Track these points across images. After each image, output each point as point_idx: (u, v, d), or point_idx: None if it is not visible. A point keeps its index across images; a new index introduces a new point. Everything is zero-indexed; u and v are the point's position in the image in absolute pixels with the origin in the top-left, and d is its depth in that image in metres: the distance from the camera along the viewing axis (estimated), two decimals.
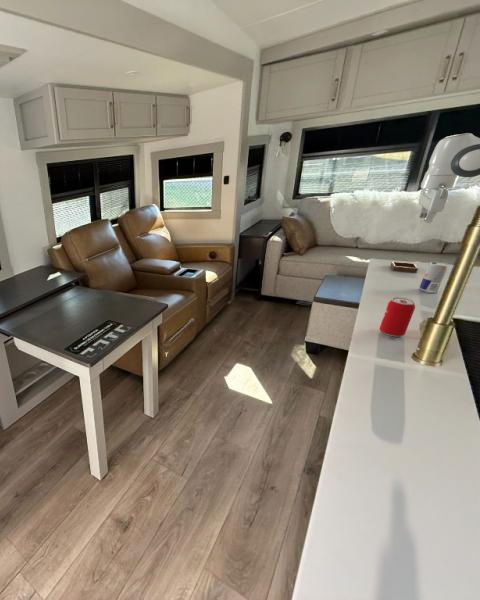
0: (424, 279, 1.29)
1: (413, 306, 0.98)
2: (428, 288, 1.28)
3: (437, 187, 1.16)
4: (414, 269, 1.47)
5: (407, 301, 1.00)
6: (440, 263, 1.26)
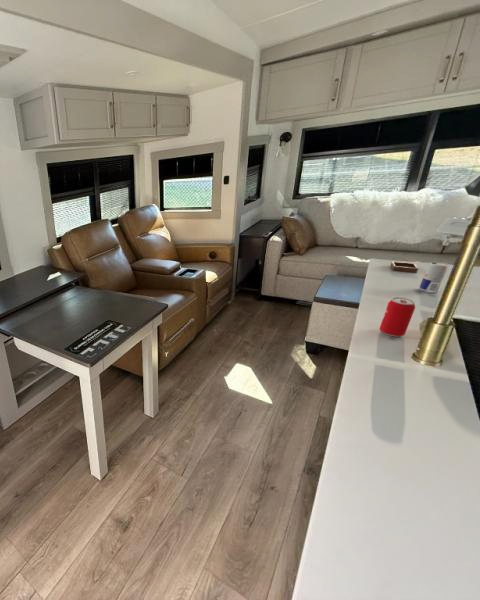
0: (424, 279, 1.29)
1: (413, 306, 0.98)
2: (428, 288, 1.28)
3: None
4: (414, 269, 1.47)
5: (407, 301, 1.00)
6: (440, 263, 1.26)
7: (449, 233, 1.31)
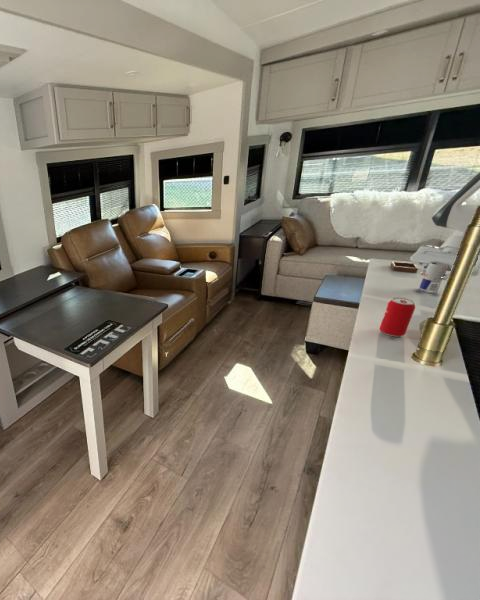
0: (424, 279, 1.29)
1: (413, 306, 0.98)
2: (428, 288, 1.28)
3: None
4: (414, 269, 1.47)
5: (407, 301, 1.00)
6: (440, 263, 1.26)
7: (422, 262, 1.31)
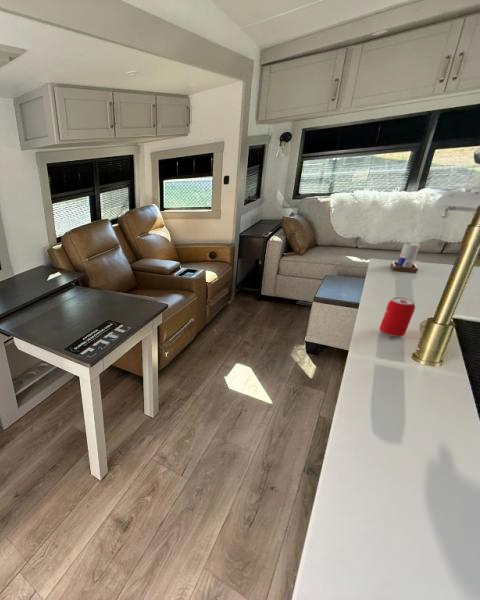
0: (400, 257, 1.51)
1: (413, 306, 0.98)
2: (403, 265, 1.50)
3: None
4: (414, 269, 1.47)
5: (407, 301, 1.00)
6: (413, 243, 1.48)
7: (448, 205, 1.30)
